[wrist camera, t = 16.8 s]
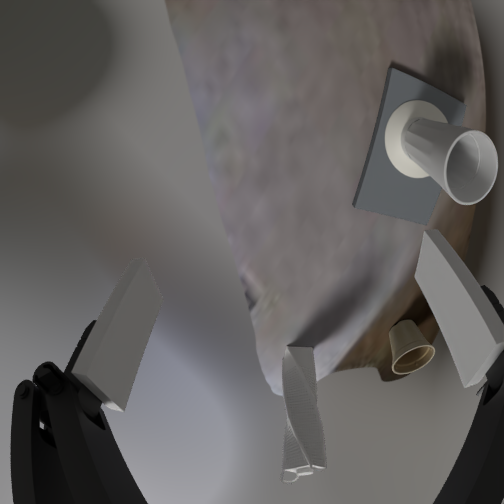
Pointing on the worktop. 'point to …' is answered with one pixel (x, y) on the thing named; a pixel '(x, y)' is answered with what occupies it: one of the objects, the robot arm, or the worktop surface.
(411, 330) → the flower pot
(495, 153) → the cup
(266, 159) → the worktop surface
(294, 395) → the skyscraper
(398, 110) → the board
